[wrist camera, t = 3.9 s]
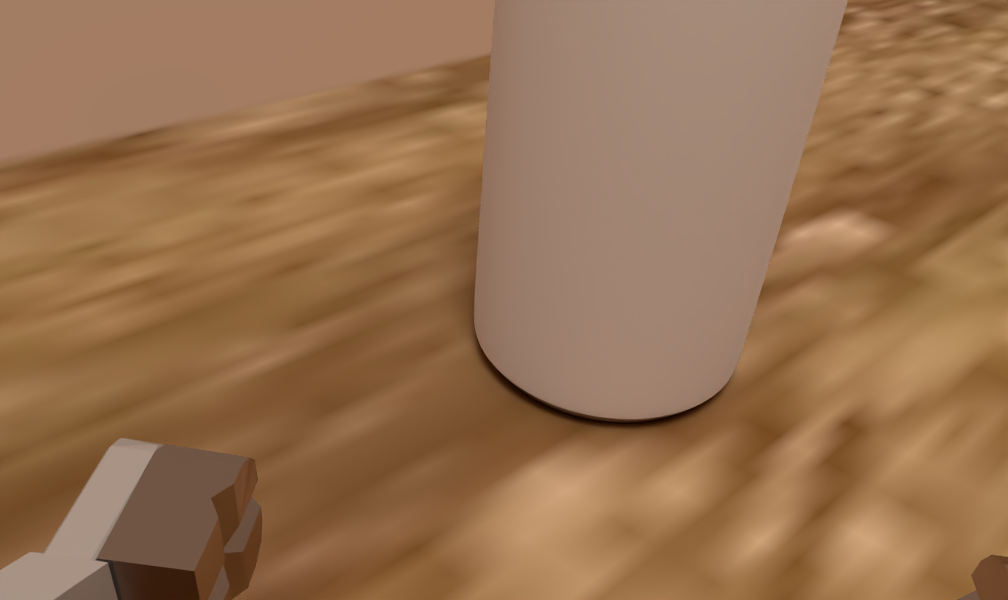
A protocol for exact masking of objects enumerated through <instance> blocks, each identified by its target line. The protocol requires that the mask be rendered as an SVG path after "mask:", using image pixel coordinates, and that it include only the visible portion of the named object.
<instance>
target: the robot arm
mask: <svg viewBox="0 0 1008 600" xmlns="http://www.w3.org/2000/svg"><path fill="white" fill-rule="evenodd" d="M257 481H258V476H257V470H256V464H255V460H254V459H252V458H249V457H243V456H237V455H230V454H224V453H218V452H212V451H205V450H199V449H193V448H186V447H180V446H174V445H168V444H158V443H152V442H145V441H138V440H132V439H125V438H120V439H119V440H118V441H116V442H115V443H114V444H113V445H112V446H110V447H109V448H108V449H107V451H106V453H105V454H104V456H103V457H102V459H101V461H100V462H99V464H98V465H97V467H96V469H95V470H94V472H93V474H92V475H91V477H90V478H89V480H88V482H87V483H86V485H85V487H84V488H83V490H82V491H81V493H80V495H79V496H78V498H77V499H76V501H75V503H74V504H73V506H72V508H71V509H70V511H69V512H68V514H67V516H66V517H65V519H64V521H63V522H62V524H61V525H60V527H59V529H58V530H57V532H56V533H55V535H54V537H53V538H52V540H51V542H50V543H49V545H48V546H47V548H46V550H45V551H44V553H39V552H28V553H27V554H25V555H24V556H22V557H20V558H19V559H17V560H16V561H14V562H12V563H11V564H9V565H7V566H6V567H4V568H3V569H1V570H0V600H232V599H233V598H235V597H236V596H237V595H239V594H240V593H241V592H243V591H244V590H245V589H247V588H248V586H249V583H250V580H251V577H252V575H253V572H254V569H255V566H256V562H257V558H258V553H259V549H260V544H261V537H262V512H261V506H260V505H259V504H258V503H257V502H256V501H255V500H254V499H253V498H252V497H251V496H252V494H253V491H254V489H255V486H256V484H257ZM971 576H972V579H973V582H974V584H975V587H976V591H974V592H972V593H970V594H968V595H966V596H964V597H962V598H960V599H958V600H1008V557H1005V556H996V555H990V556H988V557H987V558H985V559H983V560H981V561H980V563H979V564H978V566H977V567H976V569H975V570H974V572H973V574H972V575H971Z"/></svg>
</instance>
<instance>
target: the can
mask: <svg viewBox="0 0 1008 600" xmlns="http://www.w3.org/2000/svg"><path fill="white" fill-rule="evenodd" d="M847 1H848V0H495V8H494V21H493V35H492V48H491V62H490V76H489V90H488V104H487V118H486V132H485V146H484V161H483V175H482V190H481V204H480V219H479V234H478V249H477V264H476V281H475V299H474V326H475V332H476V335H477V339H478V341H479V344H480V346H481V348H482V350H483V351H484V353H485V355H486V356H487V357H488V359H489V360H490V361H491V363H492V364H493V365H494V366H495V367H496V368H497V369H498V370H499V371H500V372H501V373H502V374H503V375H504V376H505V377H506V378H507V379H508V380H509V381H510V382H511V383H512V384H513V385H514V386H516V387H517V388H518V389H519V390H521V391H522V392H523V393H525V394H526V395H528V396H530V397H531V398H533V399H535V400H536V401H538V402H540V403H542V404H544V405H546V406H548V407H551V408H553V409H555V410H558V411H561V412H563V413H566V414H569V415H573V416H577V417H581V418H585V419H590V420H595V421H603V422H613V423H636V422H647V421H653V420H658V419H663V418H666V417H670V416H673V415H676V414H678V413H681V412H683V411H685V410H688V409H690V408H693V407H695V406H697V405H699V404H701V403H703V402H705V401H706V400H708V399H710V398H711V397H712V396H714V395H715V394H716V393H718V392H719V391H720V390H721V389H722V388H723V387H724V386H725V385H726V383H727V382H728V381H729V379H730V378H731V376H732V375H733V373H734V371H735V368H736V366H737V363H738V361H739V358H740V355H741V352H742V349H743V346H744V343H745V340H746V336H747V333H748V330H749V327H750V324H751V320H752V317H753V314H754V311H755V308H756V304H757V301H758V298H759V294H760V291H761V288H762V285H763V281H764V278H765V275H766V272H767V268H768V265H769V262H770V258H771V255H772V252H773V249H774V245H775V242H776V239H777V235H778V232H779V229H780V225H781V222H782V219H783V215H784V212H785V209H786V206H787V202H788V199H789V196H790V192H791V189H792V186H793V182H794V179H795V176H796V172H797V169H798V166H799V162H800V159H801V156H802V152H803V149H804V146H805V142H806V139H807V136H808V132H809V129H810V126H811V122H812V119H813V116H814V112H815V109H816V106H817V102H818V99H819V96H820V92H821V89H822V86H823V82H824V79H825V75H826V72H827V69H828V65H829V62H830V59H831V55H832V52H833V49H834V45H835V42H836V38H837V35H838V32H839V28H840V25H841V22H842V18H843V15H844V11H845V8H846V5H847Z"/></svg>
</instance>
